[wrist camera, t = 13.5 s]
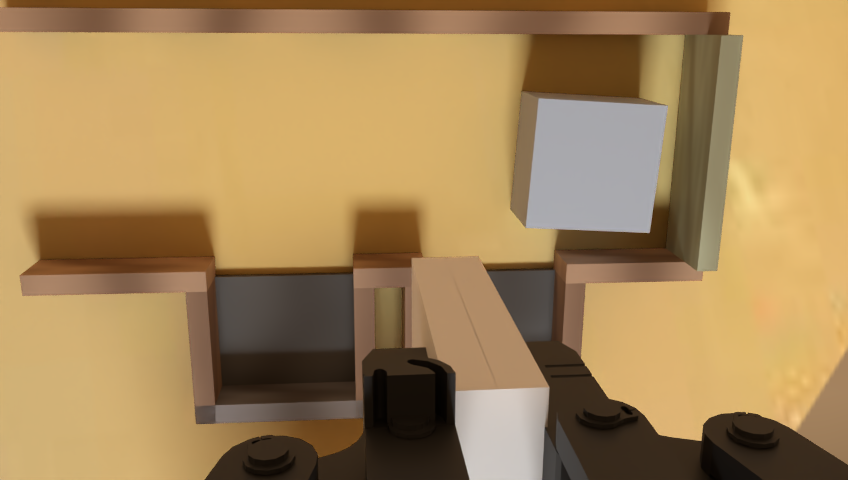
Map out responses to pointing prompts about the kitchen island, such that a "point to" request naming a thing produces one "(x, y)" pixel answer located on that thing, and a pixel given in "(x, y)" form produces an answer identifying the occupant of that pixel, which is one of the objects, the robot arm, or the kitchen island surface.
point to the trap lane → (354, 292)
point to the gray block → (587, 162)
